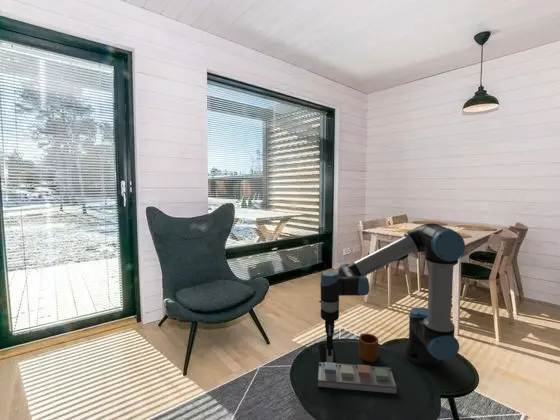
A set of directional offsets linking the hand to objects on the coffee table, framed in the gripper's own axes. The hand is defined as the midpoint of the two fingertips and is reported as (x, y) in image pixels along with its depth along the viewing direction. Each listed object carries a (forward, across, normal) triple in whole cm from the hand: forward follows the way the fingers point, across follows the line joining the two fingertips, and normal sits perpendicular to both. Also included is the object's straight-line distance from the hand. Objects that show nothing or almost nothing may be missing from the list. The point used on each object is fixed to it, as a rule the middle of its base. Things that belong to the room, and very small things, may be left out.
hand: (329, 360), depth 130 cm
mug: (+8, -19, +18) cm, 27 cm away
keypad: (+8, 0, +11) cm, 13 cm away
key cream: (+5, 0, +7) cm, 9 cm away
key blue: (+5, 0, 0) cm, 5 cm away
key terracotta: (+4, 0, +14) cm, 15 cm away
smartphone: (+9, -17, -1) cm, 19 cm away
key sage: (+5, 0, +21) cm, 22 cm away
